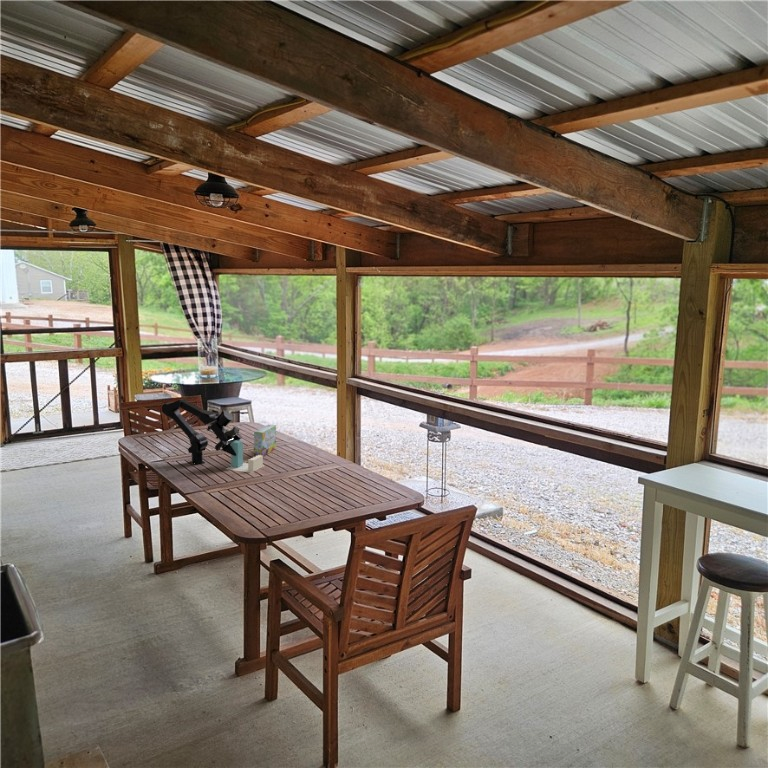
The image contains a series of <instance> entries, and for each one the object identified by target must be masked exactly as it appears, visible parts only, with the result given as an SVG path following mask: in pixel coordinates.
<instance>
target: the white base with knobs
mask: <svg viewBox="0 0 768 768" xmlns="http://www.w3.org/2000/svg"><path fill="white" fill-rule="evenodd" d="M263 467H265V465H264V457H263V456H262V455H257V456H254V455H253V457H250V458H249V459H248V460H247V462H243V465H242V466H240V467H232V466H229V467H227V468H225V470H231V471H237V472H243V473H251V474H252V473H253V472H256V471H257V470H259V469H261V468H263Z"/></svg>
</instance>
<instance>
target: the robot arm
mask: <svg viewBox="0 0 768 768" xmlns="http://www.w3.org/2000/svg"><path fill="white" fill-rule="evenodd" d="M180 409H182V410H184V411H185V412H188V413H190V414H191V415H193V416H195V417H197V419H198V420H199V421H200V422H201V423H203V424H204V425H207V429H206V431H207V432H209V431H212V433H213V434H214V435H215V439H216V440H218V439H219V442H217V444H215V445H214V450H216V451H217V452H218V451H223V452H225V453H227V454H230V456H231V455H233V456H236V453H235V451H234V450H233V448H232V447H231V442H234V441H236V440H237V441H241V439H242V438H243V436H242V435H241V433H240V428H239V427H238V426H237V425H235V426H233V427H232V429H230V430H229V429H228V428H227V429H226V428H225V427H226V426H228V425H229V424H230V423H231V422H232V421H233V419H234V416H233V415H232V414H231V413H230V412H228V411H226V410H225V409H224V410H222V411H221V413H220V414H216V413H215V412H213V411H211V410H208V409H206V410H205V409H202V408H201V407H199V406H197V405H195V404H193V403H191V402H190V401H188V400H186V399H185V398H180V399H178V400H176V401H171V402H166V403H163V404H162V405H161V412H162V414H164V416H166V417H168V418H170V419H172V420H173V422H175V423H176V425H177V426H178V427H179V429H180V430H181V431H182V432H183V433H184V434H185V435H186V437H187V438H188V439H189V444H190V446H189V447H188V448H187V451H188V453H190V454H191V460H189V461H190V462H191V463H190V462H189V463H190V464H192V463H193V464H192V465H199V464H198V463H201V464H205V463H206V462H205V461H204V460H203V452H204V451H206V448H207V447H208V444H209V442H208V441H209V440H208V437H206V436H205V435H204V433H203V432H201V433H198V432H196V430H195V429H194V428H193V427H192V425H191V424H190V423H189V422H188V421H187V420H186V418H185V417H184V416H183V415H182V414H181V410H180ZM194 463H195V464H194Z"/></svg>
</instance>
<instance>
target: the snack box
mask: <svg viewBox="0 0 768 768" xmlns="http://www.w3.org/2000/svg"><path fill="white" fill-rule="evenodd" d="M276 435H277V425H276V424H266V425H264V426H262V427H260V428H258V429H257V430H255V431H254V433H253V457H254V456H257V455H262V456H263V458H264V457H266V456H267V455H269V454H270V453H272V452H274V451H275V450H276V437H277V436H276ZM274 449H275V450H274ZM273 450H274V451H273ZM271 451H272V452H271ZM268 453H269V454H268Z"/></svg>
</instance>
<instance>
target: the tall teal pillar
mask: <svg viewBox="0 0 768 768" xmlns="http://www.w3.org/2000/svg"><path fill="white" fill-rule="evenodd" d="M231 447H232V448H233V450H234V451H235V453H236V456H233V455H231V454H230V456H231V457H230V458H231V459H230V460H231V462H230V465H231V466H232V467H240V466H242V465H243V463H244V441H243V440H239V441H237V440H236V441H234V442H231ZM231 466H230V467H231Z"/></svg>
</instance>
